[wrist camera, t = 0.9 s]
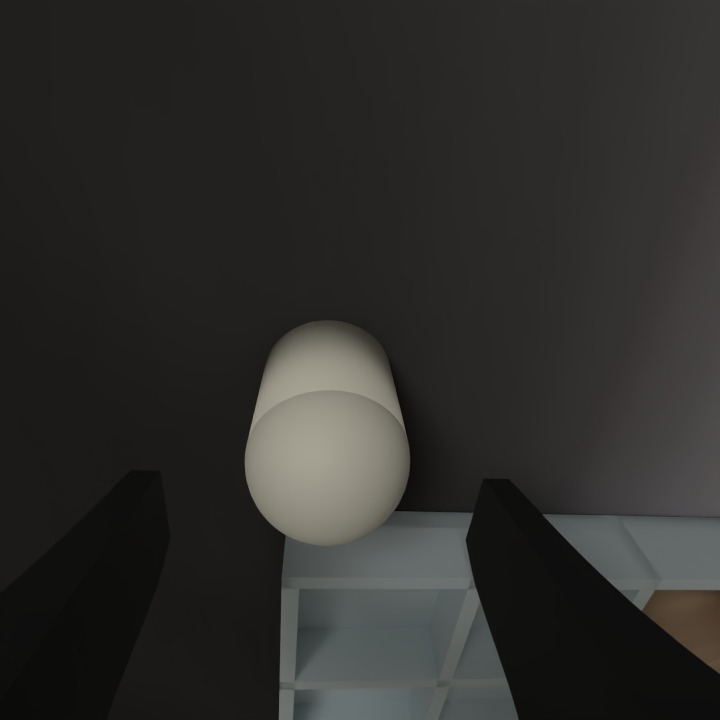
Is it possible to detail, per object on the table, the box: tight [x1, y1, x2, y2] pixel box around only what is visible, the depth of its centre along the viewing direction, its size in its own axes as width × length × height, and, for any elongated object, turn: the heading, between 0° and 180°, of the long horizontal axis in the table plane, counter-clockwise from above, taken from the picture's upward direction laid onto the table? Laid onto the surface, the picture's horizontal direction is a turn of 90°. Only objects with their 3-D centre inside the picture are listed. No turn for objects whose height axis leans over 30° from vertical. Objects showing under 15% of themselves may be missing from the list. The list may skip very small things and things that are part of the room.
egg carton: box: [279, 511, 720, 720], centre depth 21 cm, size 20×14×3 cm
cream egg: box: [245, 320, 410, 546], centre depth 13 cm, size 4×4×6 cm
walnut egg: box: [642, 590, 720, 674], centre depth 18 cm, size 4×4×6 cm
